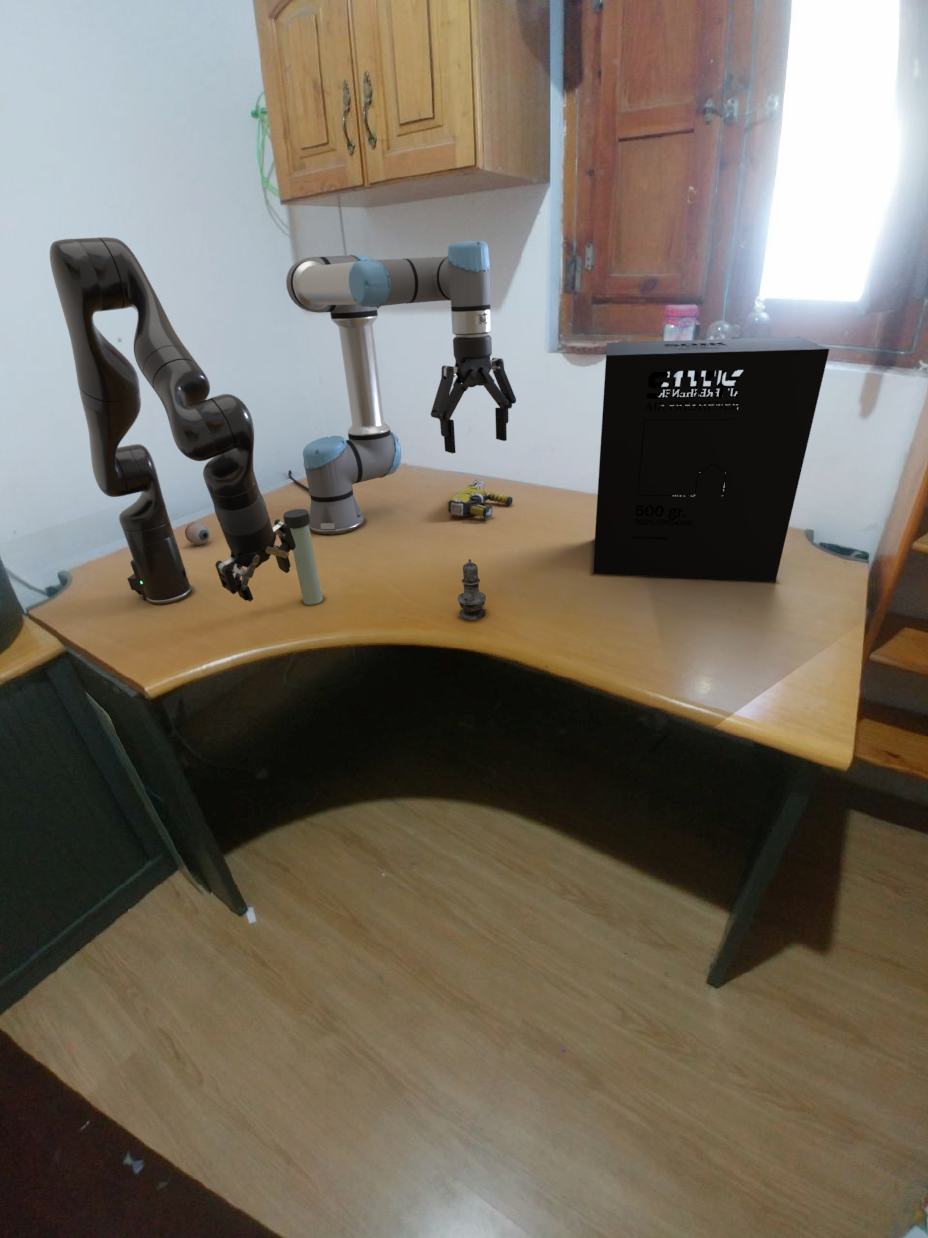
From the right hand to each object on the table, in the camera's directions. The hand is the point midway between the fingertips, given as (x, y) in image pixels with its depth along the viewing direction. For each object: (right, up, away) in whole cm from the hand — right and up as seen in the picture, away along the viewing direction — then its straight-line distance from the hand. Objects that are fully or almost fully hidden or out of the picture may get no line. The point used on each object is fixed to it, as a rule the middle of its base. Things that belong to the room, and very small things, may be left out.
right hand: (476, 445), depth 127 cm
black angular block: (+47, -23, +12) cm, 53 cm away
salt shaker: (-1, -36, -6) cm, 36 cm away
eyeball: (-73, -17, +35) cm, 83 cm away
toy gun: (+4, -4, +49) cm, 49 cm away
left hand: (-38, -30, -19) cm, 52 cm away
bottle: (-35, -33, +3) cm, 48 cm away
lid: (-36, -16, -6) cm, 40 cm away
